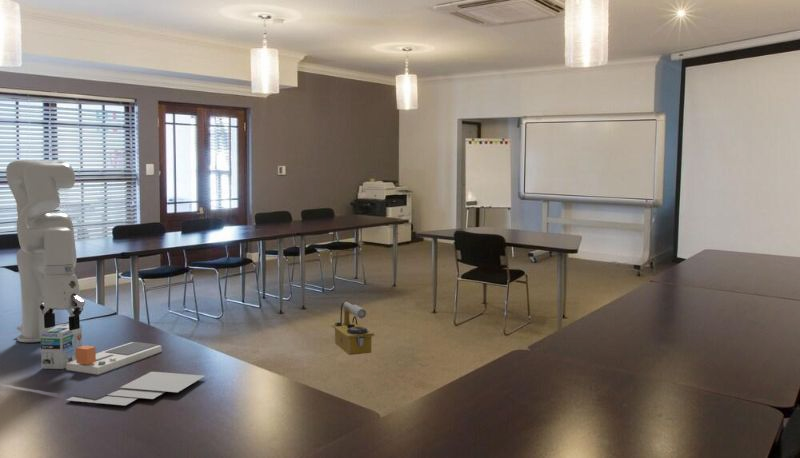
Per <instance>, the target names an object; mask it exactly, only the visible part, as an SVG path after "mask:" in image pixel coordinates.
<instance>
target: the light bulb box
mask: <svg viewBox="0 0 800 458" xmlns="http://www.w3.org/2000/svg"><path fill="white" fill-rule="evenodd" d="M82 327H83V326H82V325H81V324H80V328H79V329H75V330H69V324H59V325H55V327H54V328H51V329H49V330H46V331H44V332H41V333H40V334H41V342H40V356H41V358H40V359H41V361H40V362H41V369H47V370H48V369H52V370H53V369H54V370H64V369H66V363H68V362H71V361H74V360H76V348H78V347H81V346H83V335H82V333H83V331H82V329H83V328H82Z"/></svg>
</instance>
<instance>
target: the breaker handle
mask: <svg viewBox="0 0 800 458" xmlns="http://www.w3.org/2000/svg"><path fill="white" fill-rule="evenodd" d="M96 353H97V352H96V346H92V345H87V344H86V345H85V344H84V345H82V346H81V347H78V348H76V362H77V363H79V364H86V365H88V364H91V363H94V362H96Z"/></svg>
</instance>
